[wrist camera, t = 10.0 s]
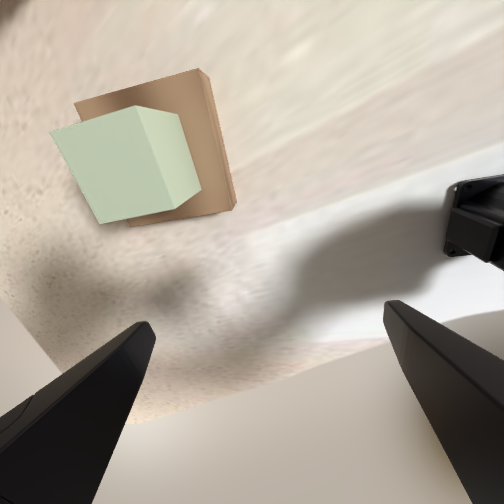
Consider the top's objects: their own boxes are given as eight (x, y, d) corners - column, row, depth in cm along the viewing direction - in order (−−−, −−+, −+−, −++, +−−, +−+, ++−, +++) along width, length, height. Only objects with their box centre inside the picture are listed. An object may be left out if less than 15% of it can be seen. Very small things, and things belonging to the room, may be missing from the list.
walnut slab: (211, 79, 16) (198, 68, 14) (237, 200, 20) (231, 210, 18) (103, 108, 18) (73, 103, 15) (147, 215, 22) (130, 226, 19)
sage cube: (177, 114, 15) (135, 105, 10) (201, 189, 17) (174, 208, 12) (113, 132, 16) (49, 132, 11) (143, 202, 18) (99, 224, 13)
